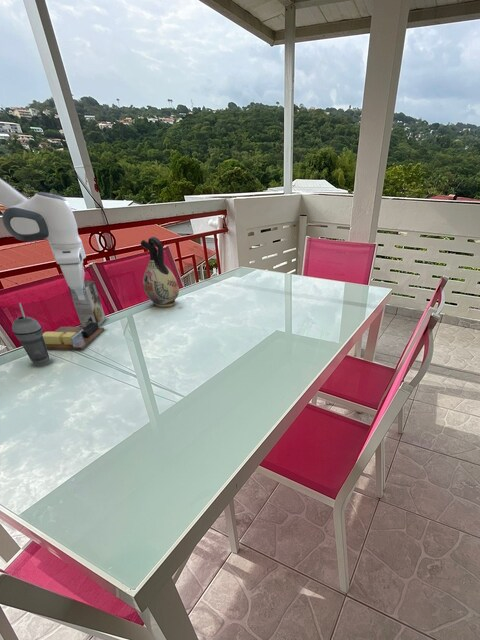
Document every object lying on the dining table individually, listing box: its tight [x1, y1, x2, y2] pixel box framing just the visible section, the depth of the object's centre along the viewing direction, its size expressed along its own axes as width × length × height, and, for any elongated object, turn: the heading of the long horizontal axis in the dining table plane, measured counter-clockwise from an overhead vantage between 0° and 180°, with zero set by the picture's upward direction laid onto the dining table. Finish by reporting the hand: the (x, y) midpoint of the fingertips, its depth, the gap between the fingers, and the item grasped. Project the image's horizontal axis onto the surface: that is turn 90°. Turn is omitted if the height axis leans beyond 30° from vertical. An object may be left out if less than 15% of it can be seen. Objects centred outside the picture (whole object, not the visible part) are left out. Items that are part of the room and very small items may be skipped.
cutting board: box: [46, 326, 105, 351], centre depth 122 cm, size 16×18×1 cm
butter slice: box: [62, 332, 76, 345], centre depth 117 cm, size 3×4×3 cm
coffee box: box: [67, 279, 106, 327], centre depth 131 cm, size 9×6×16 cm
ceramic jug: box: [140, 236, 180, 308], centre depth 150 cm, size 17×15×30 cm
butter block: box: [43, 331, 64, 344], centre depth 117 cm, size 6×4×3 cm, turn 93°
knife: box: [71, 322, 100, 347], centre depth 121 cm, size 2×17×3 cm, turn 3°
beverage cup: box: [11, 302, 51, 368], centre depth 102 cm, size 7×7×20 cm
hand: (82, 295), depth 114 cm, fingers open, 8 cm apart
